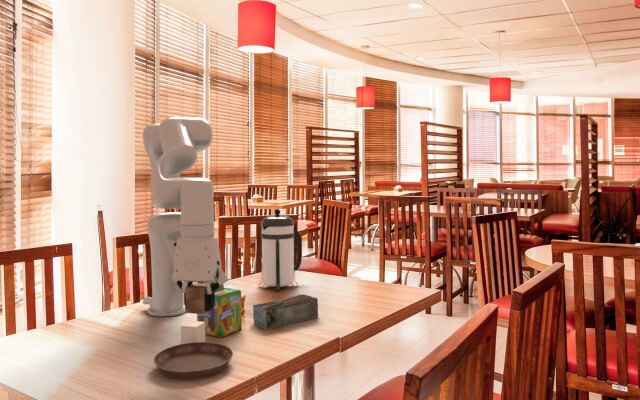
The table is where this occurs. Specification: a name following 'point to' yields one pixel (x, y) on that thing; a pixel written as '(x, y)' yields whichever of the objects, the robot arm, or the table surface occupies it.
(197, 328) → the cream block
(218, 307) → the chalk box
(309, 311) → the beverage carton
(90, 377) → the table surface
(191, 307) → the walnut block
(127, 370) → the table surface
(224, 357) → the plant saucer
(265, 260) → the coffee press
